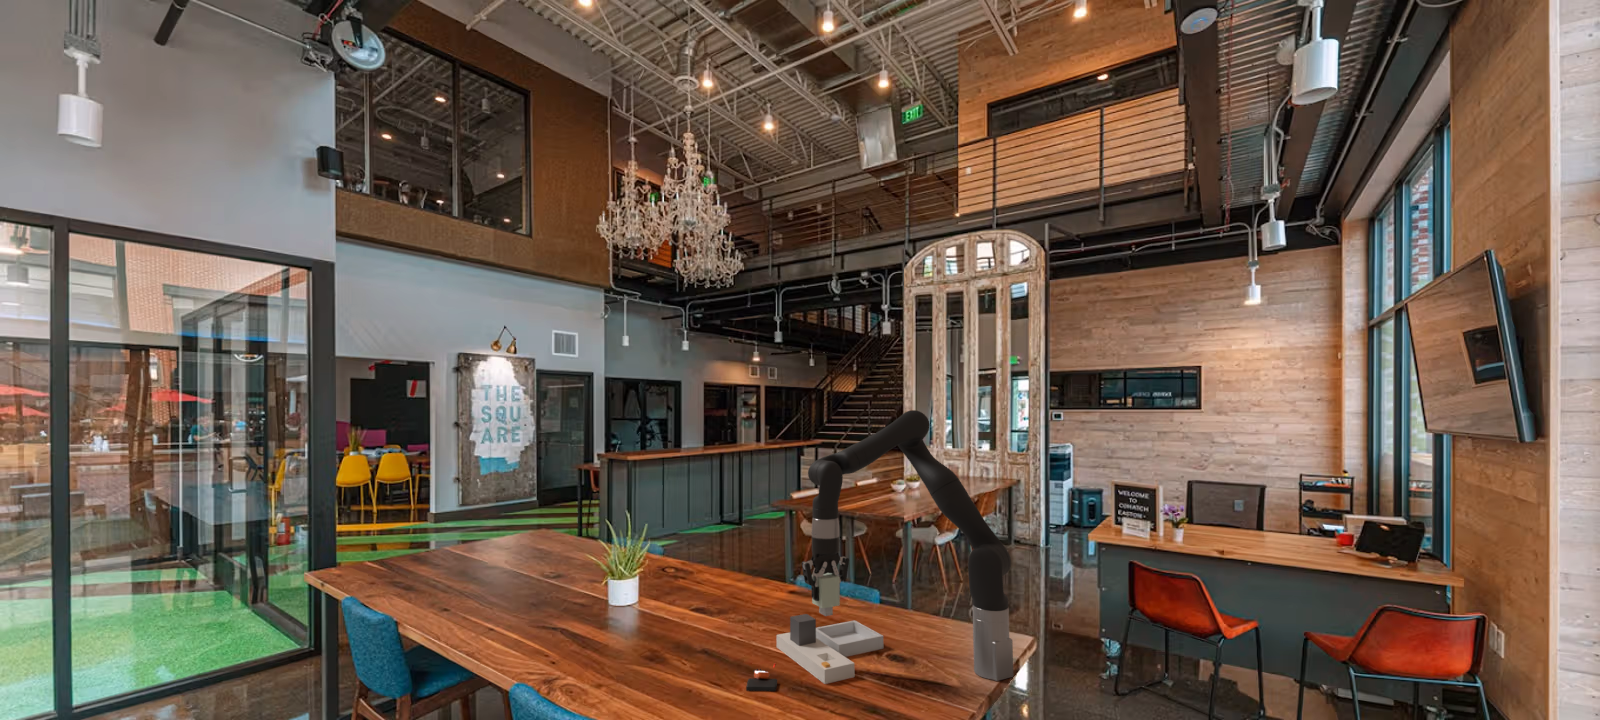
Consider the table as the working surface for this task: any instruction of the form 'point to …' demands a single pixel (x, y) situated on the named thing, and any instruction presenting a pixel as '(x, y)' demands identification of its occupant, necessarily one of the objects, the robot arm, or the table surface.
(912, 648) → the table surface
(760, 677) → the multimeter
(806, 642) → the block
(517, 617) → the table surface
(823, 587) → the block
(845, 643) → the tray
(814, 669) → the flat gray board
